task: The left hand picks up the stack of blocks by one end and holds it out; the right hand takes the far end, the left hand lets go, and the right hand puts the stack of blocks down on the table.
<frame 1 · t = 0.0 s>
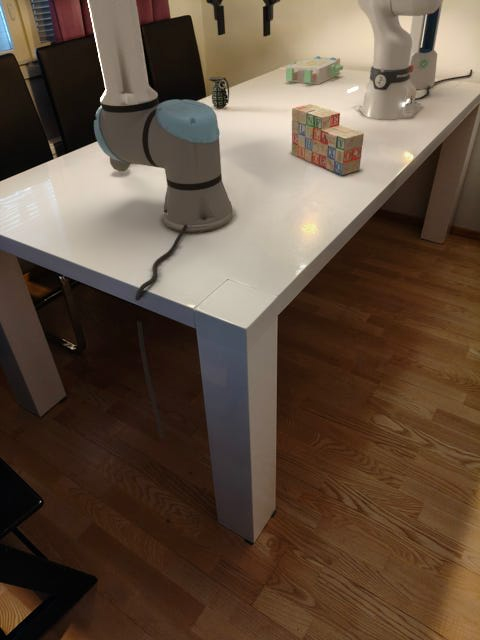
left hand: (243, 35, 129), 28 cm above the table, tool pointing down, fingers open, 13 cm apart
electronic device: (414, 87, 188), on the table
molecular model: (145, 157, 140), on the table
grenade: (220, 108, 177), on the table
decorative block: (313, 78, 207), on the table
stack of blocks: (324, 161, 131), on the table
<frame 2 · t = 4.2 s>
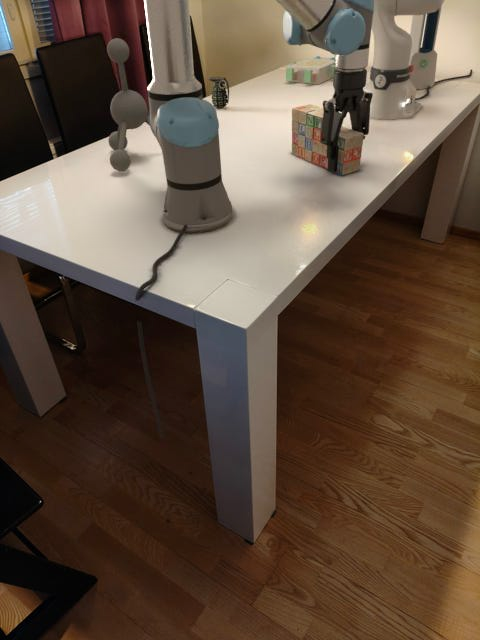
left hand: (342, 167, 125), 1 cm above the table, tool pointing down, fingers closed on stack of blocks, 6 cm apart
right hand: (348, 2, 124), 34 cm above the table, tool pointing down, fingers open, 8 cm apart
stack of blocks: (324, 161, 131), on the table, touching left hand
everything else where it was.
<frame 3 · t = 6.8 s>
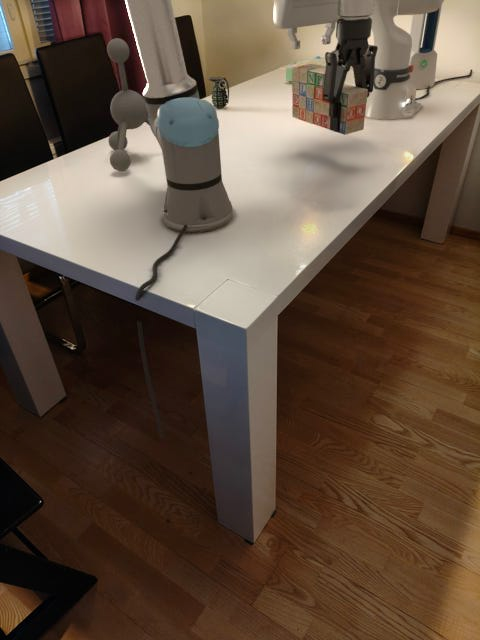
left hand: (345, 127, 119), 11 cm above the table, tool pointing down, fingers closed on stack of blocks, 6 cm apart
right hand: (311, 46, 119), 26 cm above the table, tool pointing down, fingers open, 8 cm apart
stack of blocks: (326, 123, 124), point 10 cm above the table, touching left hand
everything else where it was.
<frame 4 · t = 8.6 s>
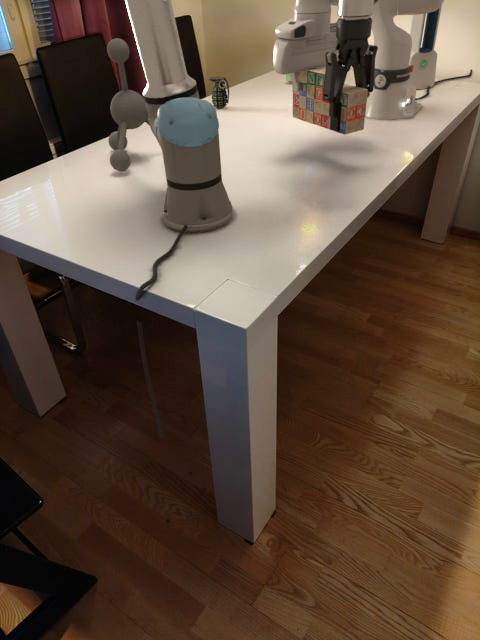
left hand: (345, 127, 119), 11 cm above the table, tool pointing down, fingers closed on stack of blocks, 6 cm apart
right hand: (309, 88, 125), 17 cm above the table, tool pointing down, fingers closed on stack of blocks, 6 cm apart
stack of blocks: (326, 123, 124), point 10 cm above the table, touching left hand, right hand
everything else where it was.
when the left hand's fingers open (11 cm above the table, at t = 9.6 s): stack of blocks stays where it is, held by the right hand.
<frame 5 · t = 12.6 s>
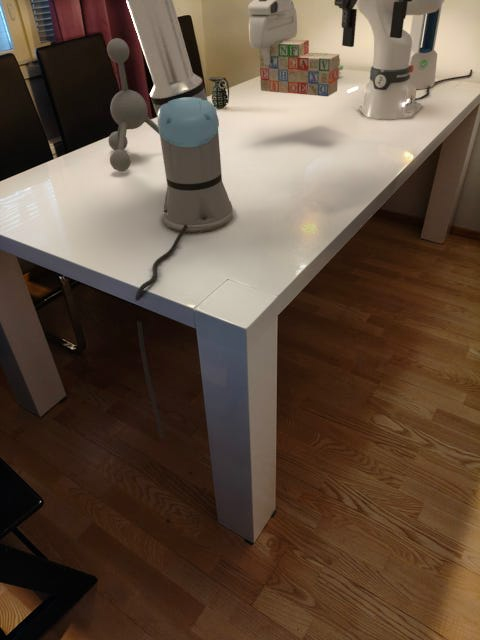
left hand: (372, 41, 103), 29 cm above the table, tool pointing down, fingers open, 13 cm apart
right hand: (274, 61, 136), 21 cm above the table, tool pointing down, fingers closed on stack of blocks, 6 cm apart
stack of blocks: (298, 91, 137), point 14 cm above the table, touching right hand
everything else where it was.
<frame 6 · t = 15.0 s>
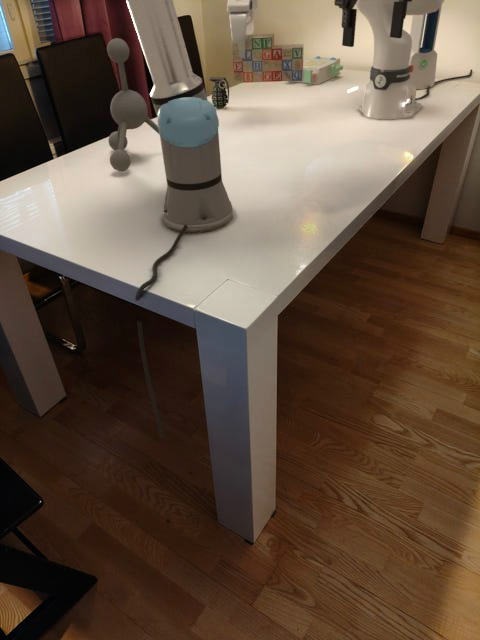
left hand: (372, 41, 103), 29 cm above the table, tool pointing down, fingers open, 13 cm apart
right hand: (244, 55, 150), 20 cm above the table, tool pointing down, fingers closed on stack of blocks, 6 cm apart
stack of blocks: (268, 79, 154), point 13 cm above the table, touching right hand
everything else where it was.
when the right hand's fingers open (8 cm above the table, at t = 16.9 s): stack of blocks stays where it is, on the table.
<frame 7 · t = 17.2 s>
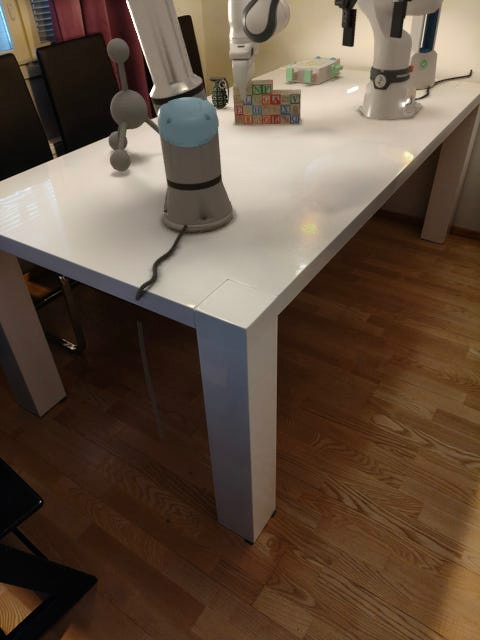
left hand: (372, 41, 103), 29 cm above the table, tool pointing down, fingers open, 13 cm apart
right hand: (246, 95, 157), 8 cm above the table, tool pointing down, fingers open, 8 cm apart
stack of blocks: (267, 122, 161), on the table
everything else where it was.
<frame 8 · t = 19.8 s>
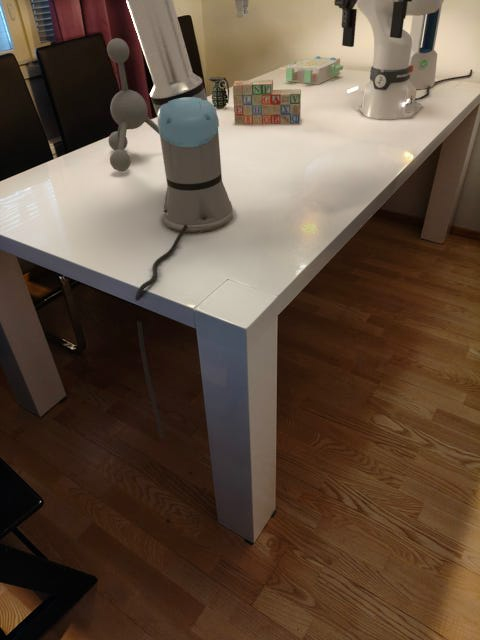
left hand: (372, 41, 103), 29 cm above the table, tool pointing down, fingers open, 13 cm apart
right hand: (242, 15, 144), 30 cm above the table, tool pointing down, fingers open, 8 cm apart
nothing on the table moved.
at the end: stack of blocks inside the target area (7.0 cm from its centre), on the table; the left hand is holding nothing; the right hand is holding nothing; stack of blocks at rest at the end (0.0 cm/s) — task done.
